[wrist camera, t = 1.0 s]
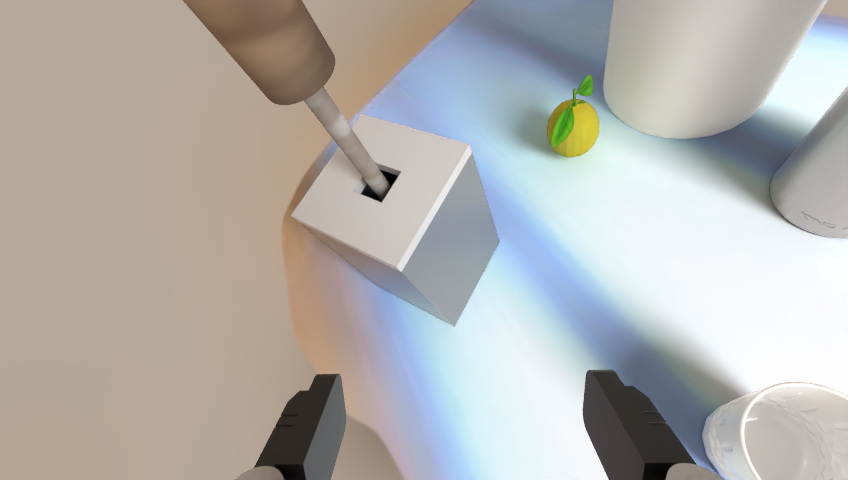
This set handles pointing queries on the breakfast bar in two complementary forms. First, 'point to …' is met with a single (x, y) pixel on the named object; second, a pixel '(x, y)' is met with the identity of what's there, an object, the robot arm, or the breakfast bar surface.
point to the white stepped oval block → (699, 61)
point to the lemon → (574, 124)
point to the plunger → (287, 64)
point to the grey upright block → (407, 216)
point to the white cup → (780, 434)
